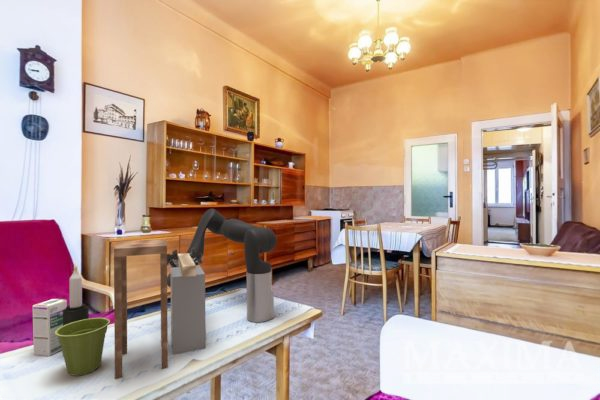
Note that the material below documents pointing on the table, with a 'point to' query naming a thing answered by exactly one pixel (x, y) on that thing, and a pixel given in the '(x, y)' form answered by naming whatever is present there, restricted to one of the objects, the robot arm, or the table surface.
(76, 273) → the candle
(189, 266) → the birch bar
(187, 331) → the grey rectangular block
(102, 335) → the plant pot
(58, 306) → the syrup box
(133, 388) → the table surface
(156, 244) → the walnut stool
